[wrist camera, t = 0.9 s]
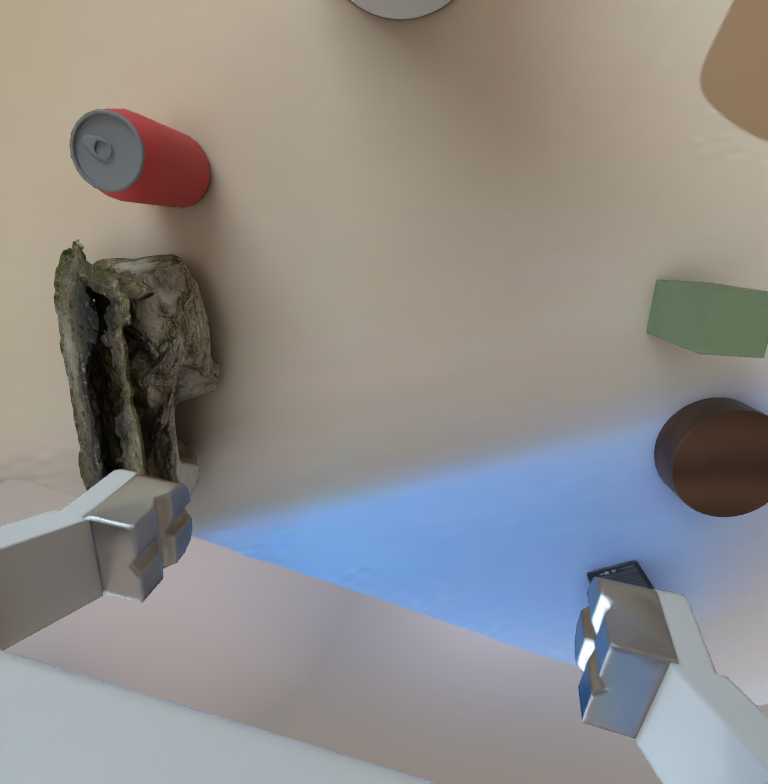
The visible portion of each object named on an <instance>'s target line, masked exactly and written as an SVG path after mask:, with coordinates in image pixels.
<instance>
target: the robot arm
mask: <svg viewBox="0 0 768 784" xmlns="http://www.w3.org/2000/svg"><path fill="white" fill-rule="evenodd" d="M351 1H352V2H353V3H355V4H356V5H357V6H359V7H361V8H362V9H364V10H366V11H368V12H370V13H372V14H374V15H377V16H380V17H385V18H390V19H411V18H417V17H421V16H424V15H427V14H430V13H432V12H434V11H436V10H438V9H440V8H442V7H443V6H445V5H446V4H448V3H449V2H450V1H452V0H351ZM189 502H190V496H189V488H188V487H187V486H185V485H184V484H182V483H178V482H174V481H170V480H166V479H162V478H158V477H154V476H150V475H146V474H140V473H136V472H132V471H128V470H124V469H119V470H114V471H113V472H111V473H110V474H109V475H107V476H106V477H105V478H103V479H102V480H101V481H99V482H98V483H97V484H95V485H94V486H93V487H91V488H90V489H89V490H87V491H86V492H85V493H84V494H82V495H81V496H80V497H78V498H77V499H76V500H74V501H73V502H72V503H70V504H69V505H68V506H66V507H65V508H64V509H62V510H61V511H60V512H57V511H49V512H46V513H43V514H39V515H36V516H33V517H30V518H26V519H23V520H20V521H17V522H13V523H10V524H7V525H4V526H1V527H0V784H438V783H434V782H431V781H428V780H425V779H421V778H418V777H415V776H411V775H408V774H405V773H402V772H398V771H395V770H392V769H388V768H385V767H382V766H379V765H375V764H372V763H369V762H366V761H362V760H359V759H356V758H352V757H349V756H346V755H342V754H340V753H336V752H333V751H330V750H326V749H323V748H320V747H317V746H313V745H310V744H307V743H304V742H300V741H297V740H294V739H290V738H287V737H284V736H281V735H277V734H274V733H271V732H268V731H264V730H261V729H258V728H255V727H252V726H248V725H245V724H242V723H238V722H235V721H232V720H229V719H226V718H222V717H219V716H216V715H213V714H209V713H206V712H203V711H200V710H196V709H193V708H190V707H187V706H183V705H180V704H177V703H173V702H170V701H167V700H164V699H160V698H157V697H154V696H151V695H148V694H144V693H141V692H138V691H134V690H131V689H128V688H125V687H121V686H118V685H115V684H112V683H108V682H105V681H102V680H99V679H95V678H92V677H89V676H86V675H82V674H79V673H76V672H72V671H69V670H65V669H63V668H59V667H56V666H53V665H49V664H46V663H43V662H40V661H37V660H33V659H30V658H27V657H24V656H20V655H17V654H14V653H10V652H7V651H4V650H5V649H7V648H8V647H10V646H12V645H14V644H16V643H17V642H19V641H21V640H23V639H25V638H26V637H28V636H30V635H32V634H34V633H36V632H38V631H39V630H41V629H43V628H45V627H47V626H48V625H50V624H52V623H54V622H56V621H57V620H59V619H61V618H63V617H65V616H67V615H69V614H70V613H72V612H74V611H76V610H78V609H79V608H81V607H83V606H85V605H87V604H89V603H90V602H92V601H94V600H96V599H98V598H100V597H101V596H103V593H105V594H109V595H113V596H117V597H122V598H126V599H130V600H134V601H138V602H143V601H144V600H145V599H146V598H147V596H148V595H149V594H150V593H151V592H152V591H153V589H154V588H155V587H156V586H157V585H158V584H159V583H160V581H161V580H162V579H163V569H164V568H166V567H168V566H170V565H172V564H175V563H177V561H178V560H179V559H180V558H181V556H182V555H183V554H184V553H185V551H186V548H187V546H188V544H189V542H190V540H191V534H192V518H191V517H190V515H189V514H188V513H187V511H186V510H185V507H186V506H187V504H188V503H189ZM587 596H588V603H589V606H588V607H586V608H585V609H583V610H581V613H580V616H579V619H578V623H577V628H576V635H575V660H576V665H577V666H578V668H579V669H580V670H581V671H582V673H583V675H582V678H581V681H580V683H579V686H578V688H579V696H580V706H581V714H582V722H583V723H586V724H589V725H592V726H595V727H599V728H602V729H605V730H609V731H613V732H615V733H619V734H622V735H626V736H629V737H632V738H635V739H636V740H635V742H636V743H637V745H638V746H639V748H640V750H641V751H642V752H643V754H644V756H645V757H646V759H647V761H648V762H649V764H650V765H651V767H652V768H653V770H654V771H655V773H656V775H657V776H658V778H659V779H660V781H661V782H662V784H768V716H766V714H765V713H764V712H763V711H762V710H761V709H759V708H758V707H757V706H756V705H755V704H754V703H753V702H752V701H751V700H750V699H749V698H748V697H747V696H746V695H745V694H744V693H743V692H742V691H741V690H740V689H739V688H738V687H737V686H736V685H735V684H734V683H733V682H732V681H731V680H730V679H729V678H727V677H726V676H722V675H718V674H717V673H716V670H715V668H714V665H713V663H712V660H711V658H710V655H709V652H708V650H707V647H706V645H705V642H704V639H703V637H702V634H701V632H700V629H699V627H698V624H697V621H696V619H695V616H694V614H693V611H692V608H691V606H690V603H689V601H688V599H687V598H686V597H685V596H684V595H682V594H677V593H672V592H667V591H662V590H657V589H649V588H645V587H640V586H635V585H631V584H626V583H622V582H617V581H613V580H608V579H603V578H599V577H594V578H593V579H592V581H591V583H590V585H589V588H588V591H587Z"/></svg>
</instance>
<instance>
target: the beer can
mask: <svg viewBox="0 0 768 784" xmlns="http://www.w3.org/2000/svg"><path fill="white" fill-rule="evenodd" d="M70 151H71V158H72V160H73V163H74V165H75V167H76V170H77V171H78V172H79V174H80V175H81V176H82V178H83V179H84V180H85V181H86V182H88V183H89V184H90V185H92V186H93V187H94V188H97V189H99V190H100V191H101V192H103V193H104V194H106V195H107V196H109V197H112V198H115V199H118V200H120V201H127V202H135V203H143V204H151V205H159V206H167V207H182V208H184V207H187V206H190V205H193V204H195V203H196V202H197V201H198V200H199V199H201V198H202V197H203V195H204V193H205V192H206V190H207V188H208V184H209V180H210V167H209V163H208V160H207V157H206V154H205V152H204V151H203V150H202V148H201V147H200V145H199V144H198V143H197V142H196V141H194V140H193V139H192V138H190V137H189V136H187V135H185V134H183V133H180V132H178V131H176V130H174V129H171V128H169V127H167V126H165V125H162V124H160V123H158V122H155V121H153V120H151V119H149V118H146V117H144V116H142V115H140V114H137V113H134V112H132V111H129V110H126V109H104V110H101V109H96V110H93V111H91V112H88V113H86V114H84V115H83V116H82V117H81V118H80V119H79V120H78V121H77V122H76V124H75V126H74V128H73V130H72V132H71V139H70Z"/></svg>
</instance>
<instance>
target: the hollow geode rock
mask: <svg viewBox="0 0 768 784" xmlns="http://www.w3.org/2000/svg"><path fill="white" fill-rule="evenodd" d="M72 248H73V249H71V248H69V249H67V250H64V251H63V252H62V254H61V256H60V260H59V265H58V267H57V268H56V272H55V281H54V287H55V294H54V304H55V310H56V313H57V315H58V323H59V332H60V336H61V340H60V348H61V353H62V355H63V358H64V363H65V368H66V373H67V376H68V380H69V387H70V395H71V402H72V406H73V409H74V421H75V426H76V430H77V433H78V440H79V444H80V452H79V467H80V474H81V478H82V479H83V482H84V485H85V487H86V490H89V489H90V488H91V487H93V486H94V485H95V484H97V483H98V482H99V481H101V480H102V479H103V478H105V477H106V476H107V475H109V474H110V473H111V472H113V471H114V470H119V469H124V470H128V471H132V472H136V473H140V474H146V475H150V476H154V477H158V478H162V479H166V480H170V481H174V482H178V483H182V484H184V485H185V486H187V487H188V488H189V496H190V495H191V493H192V492H193V490H194V488H195V486H196V484H197V482H198V480H199V465H198V463H197V461H196V456H195V454H194V453H193V452H191V451H190V450H189V449H188V448H187V447H186V446H185V445H184V444H183V443H182V442H181V441H180V440H179V438H178V437H177V434H176V429H175V412H176V407H177V405H178V403H180V402H183V401H186V400H189V399H192V398H195V397H197V396H200V395H203V394H206V393H210V392H214V391H215V389H216V386H217V382H218V379H219V364H217V363H215V362H214V361H213V360H212V357H211V347H210V331H209V326H208V320H209V319H208V317H207V314H206V312H205V309H204V305H203V301H202V296H201V291H200V289H199V287H198V284H197V283H196V281H195V280H194V279H193V276H192V273H191V272H190V270H189V269H188V267H187V266H186V265H185V263H184V262H183V261H182V259H181V258H179V257H177V256H176V255H158V256H149V257H142V258H138V259H125V258H114V259H103V260H100V261H97V262H96V263H94V264H93V265H92V264H90V263H89V262H88V261H86V255H85V254H84V253H83V251H82V249H83V248H84V247H83V245H82V244H81V243H79V239H78V240H76V241H74V242H73V245H72ZM93 299H95V302H94V301H93Z"/></svg>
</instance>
